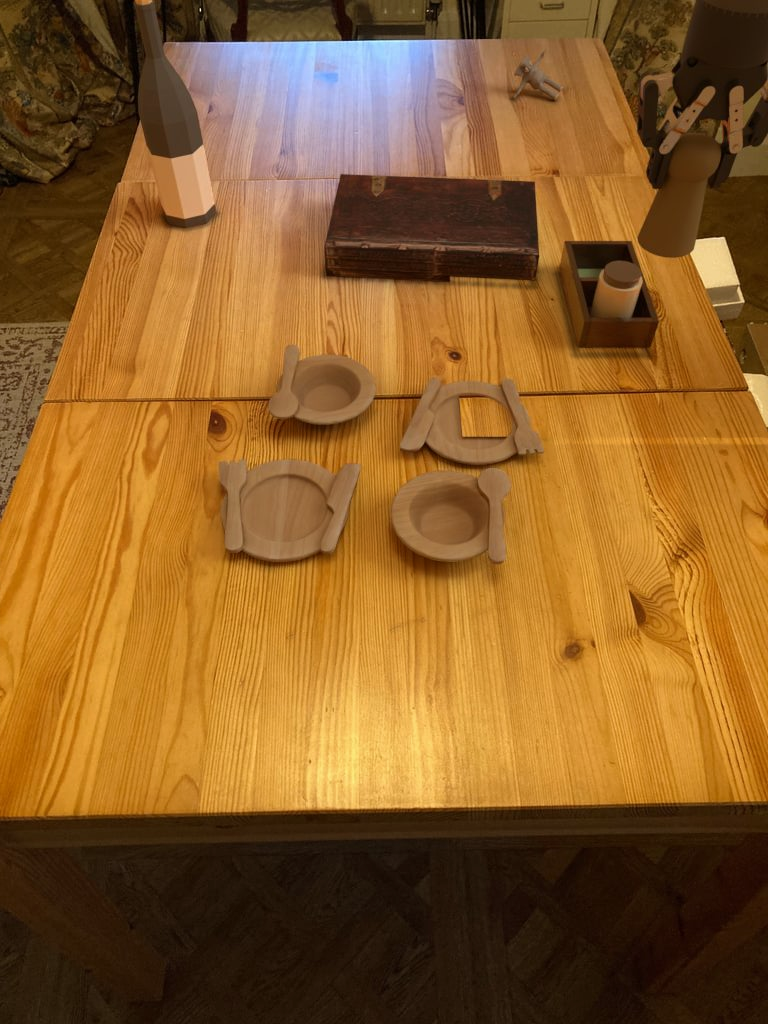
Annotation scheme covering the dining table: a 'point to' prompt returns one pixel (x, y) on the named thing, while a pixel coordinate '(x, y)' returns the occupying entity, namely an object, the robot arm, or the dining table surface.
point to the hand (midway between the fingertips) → (684, 184)
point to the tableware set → (325, 497)
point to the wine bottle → (171, 131)
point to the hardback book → (432, 228)
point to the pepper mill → (680, 197)
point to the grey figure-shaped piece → (535, 77)
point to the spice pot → (617, 291)
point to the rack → (580, 285)
